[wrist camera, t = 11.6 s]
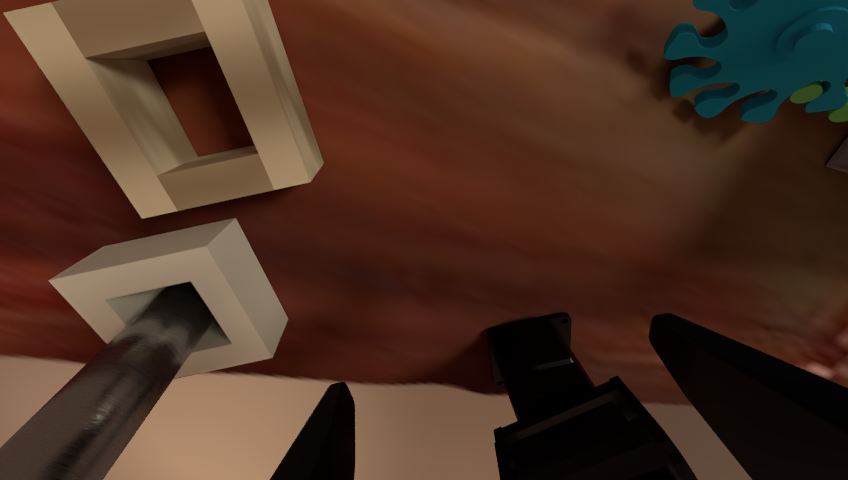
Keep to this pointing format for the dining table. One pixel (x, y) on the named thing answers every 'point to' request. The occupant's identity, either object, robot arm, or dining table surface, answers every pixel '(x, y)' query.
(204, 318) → the grey metal rod
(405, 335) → the dining table surface
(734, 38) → the teal lobed piece
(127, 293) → the socket block
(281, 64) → the beige square frame block
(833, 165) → the soda box
